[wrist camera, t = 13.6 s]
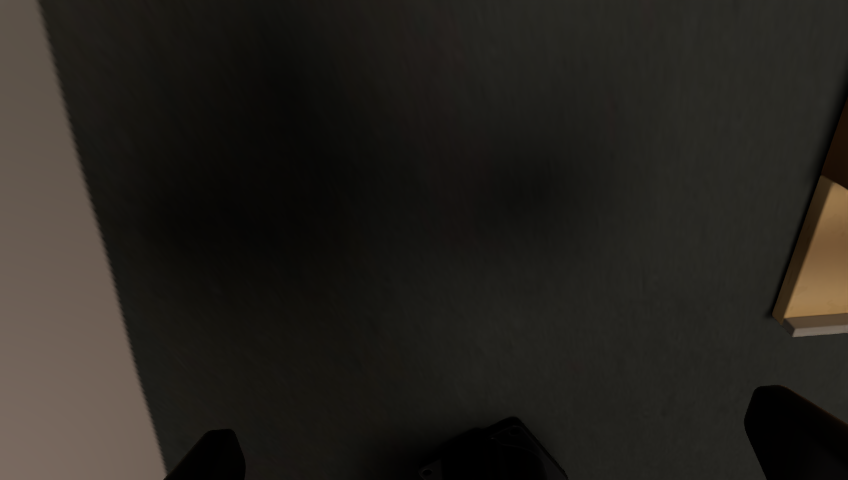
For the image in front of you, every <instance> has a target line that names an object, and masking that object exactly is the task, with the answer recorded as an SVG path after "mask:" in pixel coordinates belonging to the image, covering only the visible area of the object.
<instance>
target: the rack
mask: <svg viewBox="0 0 848 480" xmlns="http://www.w3.org/2000/svg"><path fill="white" fill-rule="evenodd" d="M821 174H822V175H821V176H820V178H819V181H818V184H817V186H816V189H815V192H814V195H813V198H812V201H811V204H810V207H809V209H808V212H807V215H806V218H805V221H804V224H803V227H802V230H801V232H800V235H799V238H798V241H797V244H796V247H795V250H794V253H793V255H792V258H791V261H790V264H789V267H788V270H787V273H786V276H785V278H784V281H783V284H782V287H781V290H780V293H779V296H778V299H777V302H776V304H775V307H774V310H773V313H772V316H773V317H774V318H775V319H776V320H777V321H778V322H779V323H780V324H781V325H782V327H783V328H784V329H785V330H786V331H787V332H788V333H789V334H790V335H791V336H792V337H800V336H812V335H825V334H838V333H848V96H847V99H846V102H845V105H844V108H843V111H842V114H841V117H840V119H839V122H838V125H837V128H836V131H835V134H834V137H833V140H832V142H831V145H830V148H829V151H828V154H827V157H826V160H825V163H824V166H823V168H822V171H821Z"/></svg>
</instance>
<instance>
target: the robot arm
mask: <svg viewBox="0 0 848 480" xmlns="http://www.w3.org/2000/svg"><path fill="white" fill-rule="evenodd" d="M744 426H745V431H746V433H747V436H748V438H749V440H750V443H751V445H752V447H753V449H754V452H755V454H756V456H757V458H758V461H759V463H760V465H761V467H762V470H763V472H764V474H765V476H766V479H767V480H848V424H846V423H845V422H843V421H842V420H840V419H838V418H837V417H835V416H833V415H832V414H830V413H828V412H827V411H825V410H824V409H822V408H820V407H819V406H817V405H815V404H814V403H812V402H810V401H809V400H807V399H806V398H804V397H802V396H801V395H799V394H797V393H796V392H794V391H792V390H791V389H789V388H787V387H785V386H782V385H770V386H760V387H758V388H756V389H755V390H754V392H753V395H752V398H751V401H750V403H749V406H748V409H747V412H746V415H745V418H744ZM245 469H246V466H245V459H244V456H243V453H242V450H241V447H240V445H239V442H238V439H237V437H236V434H235V432H234V431H233V430H231V429H220V430H211V431H208V432H207V433H205V434H204V435H203V436H202V437H201V439H200V440H199V441H198V442H197V443H196V444H195V445H194V446H193V447H192V449H191V450H190V451H189V452H188V453H187V454H186V455H185V456H184V457H183V458H182V460H181V461H180V462H179V463H178V464H177V465H176V466H175V467H174V468H173V470H172V471H171V472H170V473H169V474H168V475H167V476H166V477H165V478H164V480H244V479H245ZM418 469H419V475H420V476H421V477H422V478H423V479H424V480H568V477H567V475H566V473H565V472H564V471H563V470H562V469H561V468H560V467H559V465H558V464H557V463H556V462H555V461H554V460H553V458H552V457H551V456H550V455H549V454H548V453H547V451H546V450H545V449H544V448H543V447H542V446H541V445H540V443H539V442H538V441H537V440H536V439H535V438H534V436H533V435H532V434H531V433H530V432H529V431H528V429H527V428H526V427H525V426H524V425H523V424H522V422H520V421H518V420H510V421H508V422H505V423H503V424H501V425H499V426H497V427H495V428H493V429H491V430H488V431H486V432H484V433H482V434H480V435H478V436H476V437H473V438H471V439H469V440H467V441H465V442H463V443H461V444H459V445H456V446H454V447H452V448H450V449H448V450H446V451H444V452H441V453H439V454H437V455H435V456H433V457H431V458H429V459H427V460H424V461H422V462H421V463H420V464H419V465H418Z"/></svg>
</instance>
